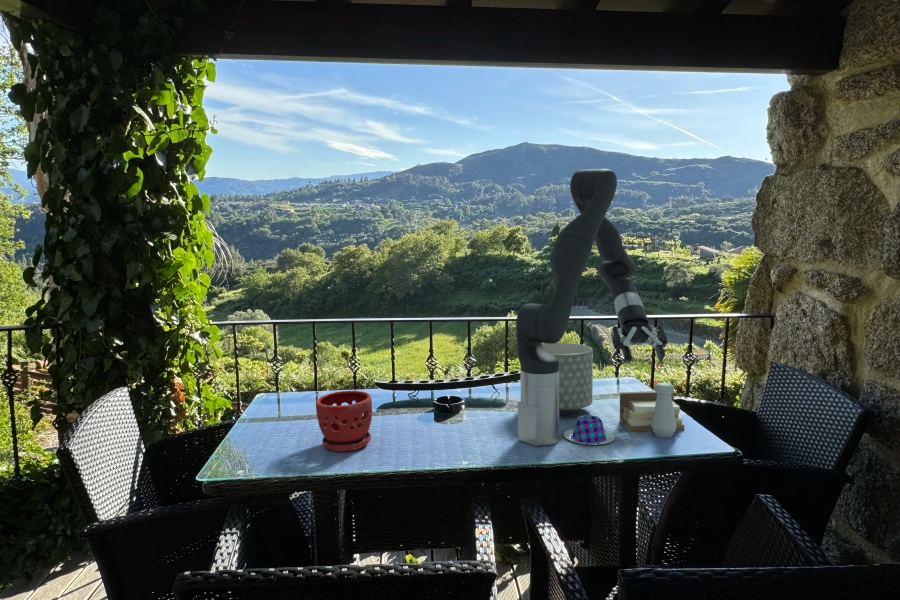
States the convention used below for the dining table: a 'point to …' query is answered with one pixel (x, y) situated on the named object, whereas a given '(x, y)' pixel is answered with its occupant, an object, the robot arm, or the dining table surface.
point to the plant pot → (345, 419)
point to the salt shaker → (664, 411)
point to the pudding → (589, 431)
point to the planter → (573, 375)
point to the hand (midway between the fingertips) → (645, 359)
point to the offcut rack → (642, 410)
